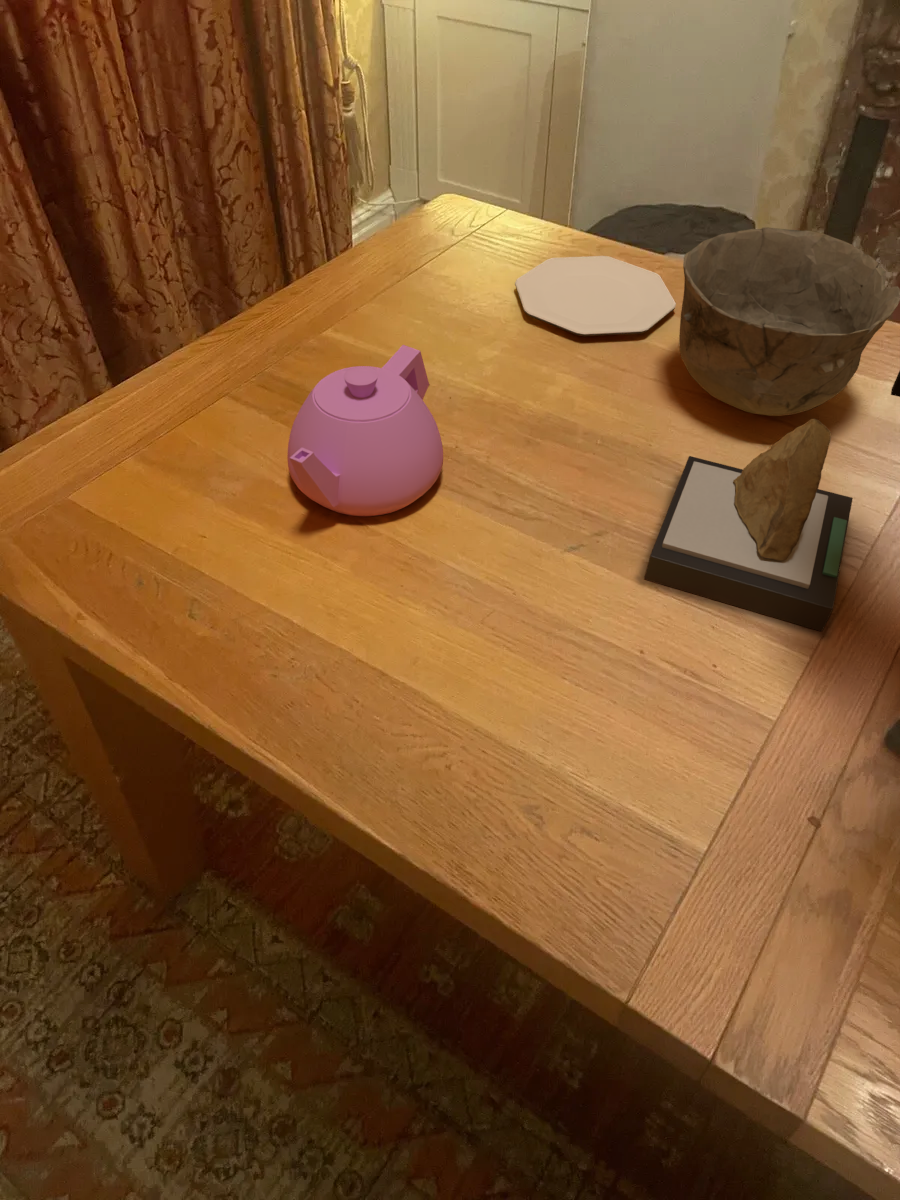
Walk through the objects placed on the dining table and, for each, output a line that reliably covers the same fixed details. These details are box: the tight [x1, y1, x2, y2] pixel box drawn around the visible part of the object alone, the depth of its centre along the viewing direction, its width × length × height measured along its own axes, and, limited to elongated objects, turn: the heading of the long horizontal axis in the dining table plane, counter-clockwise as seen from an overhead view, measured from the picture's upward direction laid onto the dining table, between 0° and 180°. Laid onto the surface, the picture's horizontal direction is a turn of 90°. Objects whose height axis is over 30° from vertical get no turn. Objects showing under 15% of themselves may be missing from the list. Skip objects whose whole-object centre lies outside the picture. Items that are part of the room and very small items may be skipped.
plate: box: [514, 255, 677, 337], centre depth 118 cm, size 20×20×2 cm
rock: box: [733, 418, 832, 561], centre depth 81 cm, size 11×9×10 cm
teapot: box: [286, 344, 444, 517], centre depth 89 cm, size 22×16×12 cm
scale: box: [644, 455, 853, 632], centre depth 85 cm, size 16×16×4 cm
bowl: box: [678, 226, 900, 417], centre depth 99 cm, size 22×22×15 cm
